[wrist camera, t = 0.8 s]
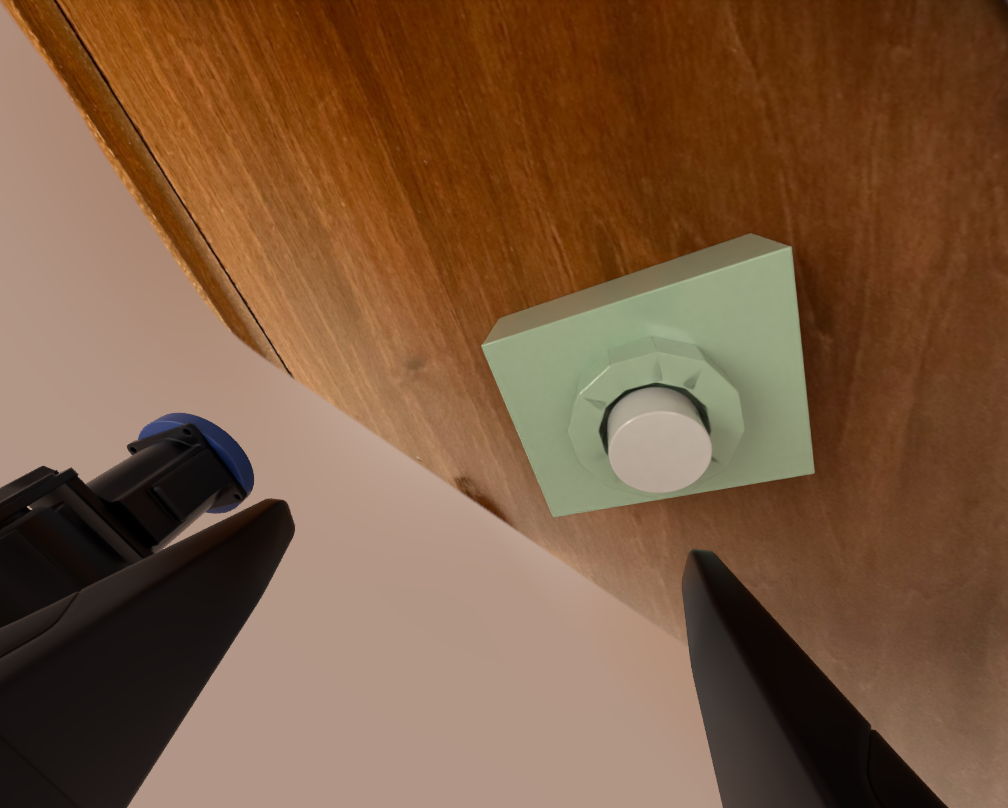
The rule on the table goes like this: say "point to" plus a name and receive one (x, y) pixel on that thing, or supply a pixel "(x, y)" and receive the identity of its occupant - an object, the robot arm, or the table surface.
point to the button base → (661, 371)
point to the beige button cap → (657, 441)
